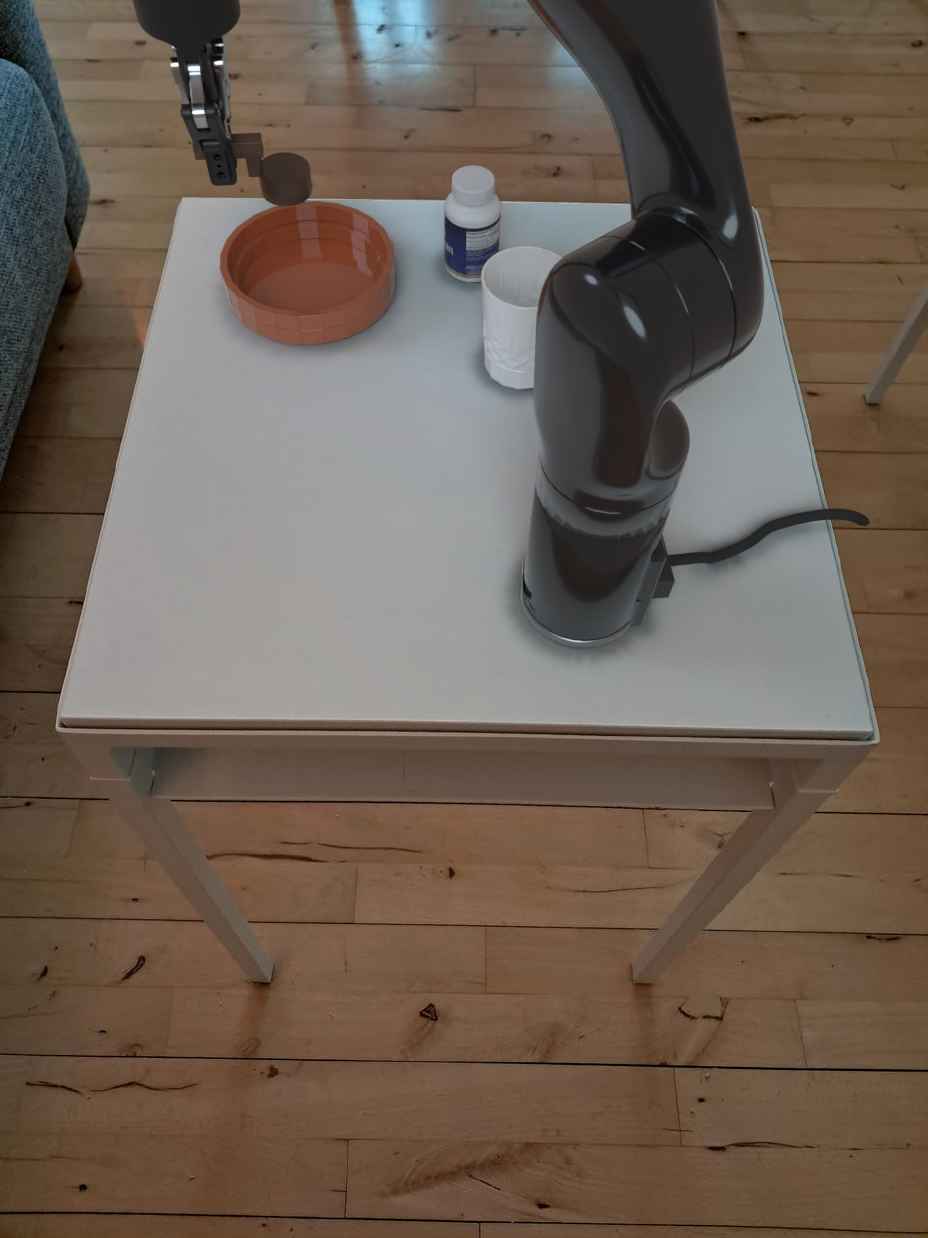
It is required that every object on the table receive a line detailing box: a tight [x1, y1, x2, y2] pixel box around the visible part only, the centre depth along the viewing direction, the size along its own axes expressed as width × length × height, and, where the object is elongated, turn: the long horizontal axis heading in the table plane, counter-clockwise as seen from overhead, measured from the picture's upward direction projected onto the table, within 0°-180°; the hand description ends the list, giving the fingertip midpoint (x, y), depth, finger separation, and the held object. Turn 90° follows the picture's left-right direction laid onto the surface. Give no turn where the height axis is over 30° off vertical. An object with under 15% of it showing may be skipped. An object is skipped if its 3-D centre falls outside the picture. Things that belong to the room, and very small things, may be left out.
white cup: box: [480, 245, 563, 390], centre depth 84 cm, size 8×8×10 cm
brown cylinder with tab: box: [191, 132, 313, 206], centre depth 80 cm, size 9×4×5 cm, turn 97°
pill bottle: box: [443, 165, 502, 283], centre depth 91 cm, size 5×5×10 cm
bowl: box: [219, 200, 397, 346], centre depth 91 cm, size 16×16×4 cm
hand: (224, 174), depth 80 cm, fingers closed on brown cylinder with tab, 1 cm apart
